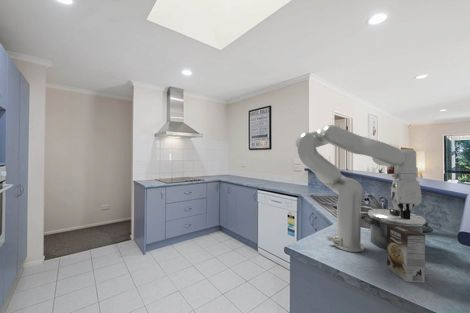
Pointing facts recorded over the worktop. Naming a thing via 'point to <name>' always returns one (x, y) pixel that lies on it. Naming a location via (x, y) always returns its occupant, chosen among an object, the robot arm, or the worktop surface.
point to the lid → (396, 217)
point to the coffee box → (406, 253)
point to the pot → (385, 230)
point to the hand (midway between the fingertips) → (405, 218)
